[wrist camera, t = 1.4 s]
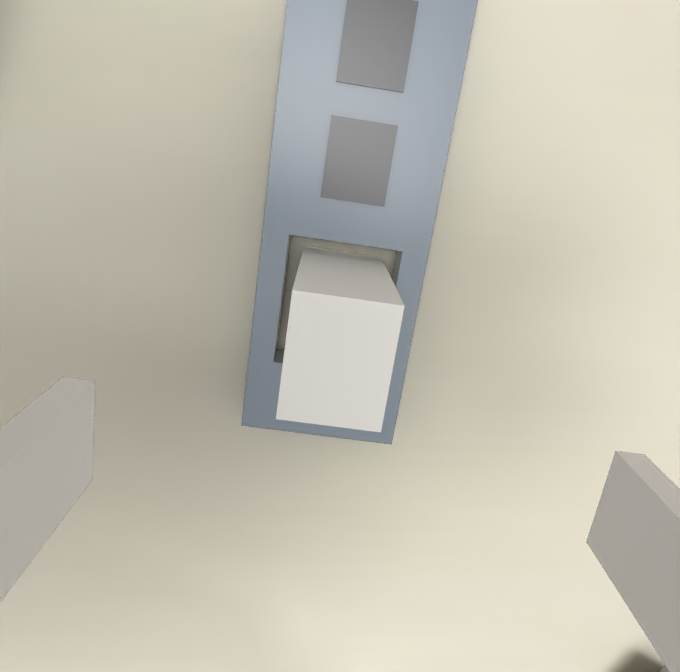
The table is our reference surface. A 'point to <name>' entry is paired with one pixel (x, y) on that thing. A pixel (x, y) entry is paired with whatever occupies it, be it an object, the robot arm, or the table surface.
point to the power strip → (356, 162)
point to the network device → (664, 669)
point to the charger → (340, 341)
